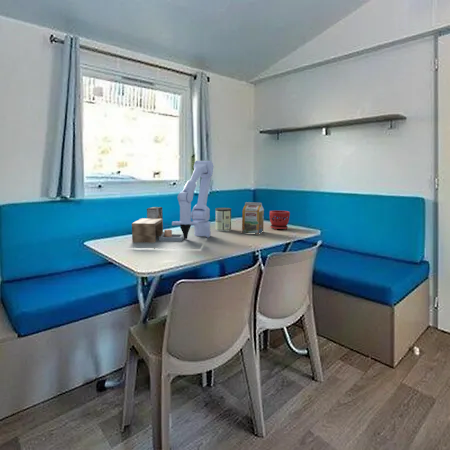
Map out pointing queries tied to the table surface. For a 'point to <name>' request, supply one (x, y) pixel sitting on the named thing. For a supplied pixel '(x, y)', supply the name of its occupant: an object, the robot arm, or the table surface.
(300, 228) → the table surface
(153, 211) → the coffee box
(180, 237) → the tray
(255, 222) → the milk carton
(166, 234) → the tan rounded smooth part
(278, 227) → the plant pot
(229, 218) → the coffee can
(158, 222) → the brown boxy block
